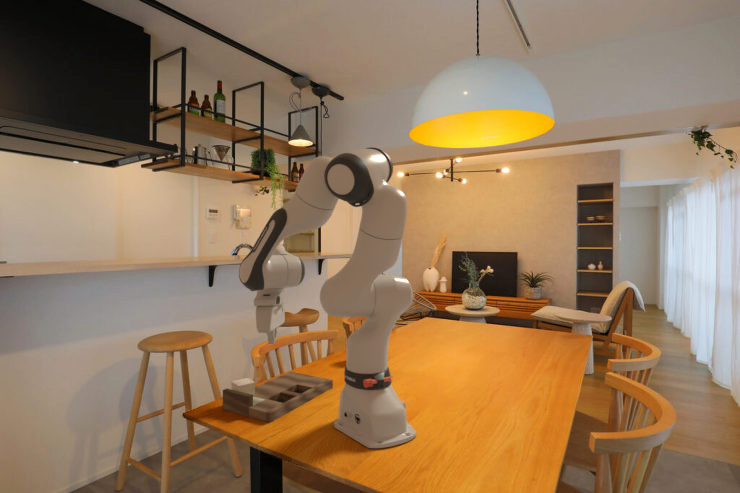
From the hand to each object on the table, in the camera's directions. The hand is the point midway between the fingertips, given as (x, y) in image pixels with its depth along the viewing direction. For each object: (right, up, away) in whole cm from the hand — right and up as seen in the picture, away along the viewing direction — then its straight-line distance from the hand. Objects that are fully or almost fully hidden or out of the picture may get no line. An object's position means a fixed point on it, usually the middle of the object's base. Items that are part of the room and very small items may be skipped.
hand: (272, 343), depth 125 cm
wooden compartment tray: (+3, -17, 0) cm, 17 cm away
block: (-7, -14, -5) cm, 17 cm away
